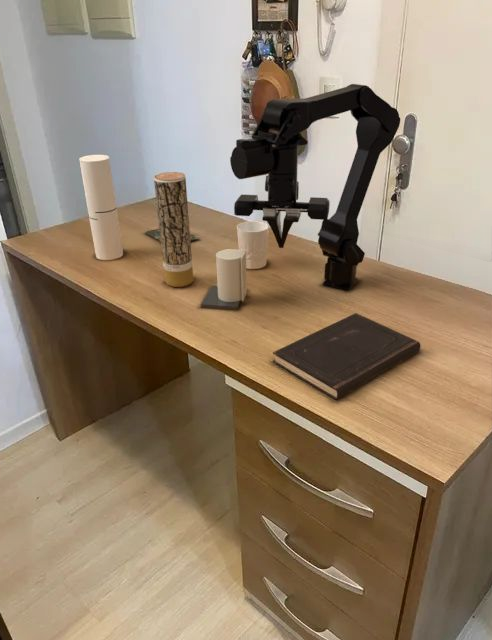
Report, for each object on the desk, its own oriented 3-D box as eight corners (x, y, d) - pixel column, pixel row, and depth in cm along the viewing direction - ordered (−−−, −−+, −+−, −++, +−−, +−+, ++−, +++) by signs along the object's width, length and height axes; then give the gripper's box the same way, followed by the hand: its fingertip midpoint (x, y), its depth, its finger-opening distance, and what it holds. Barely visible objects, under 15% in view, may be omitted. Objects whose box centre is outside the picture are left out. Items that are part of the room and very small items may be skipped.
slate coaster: (245, 290, 129) (245, 287, 129) (236, 310, 121) (236, 306, 120) (212, 288, 130) (211, 285, 130) (201, 307, 122) (200, 304, 122)
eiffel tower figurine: (143, 233, 162) (137, 187, 155) (173, 226, 168) (169, 181, 160) (168, 248, 152) (163, 199, 145) (200, 240, 157) (196, 192, 150)
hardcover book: (272, 362, 103) (272, 351, 102) (354, 322, 115) (355, 312, 114) (337, 401, 93) (338, 390, 91) (419, 352, 105) (421, 342, 104)
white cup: (256, 273, 137) (255, 234, 132) (231, 265, 142) (230, 227, 136) (274, 262, 143) (275, 224, 137) (250, 256, 147) (249, 219, 141)
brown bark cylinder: (188, 289, 130) (179, 180, 117) (161, 287, 131) (149, 179, 118) (197, 277, 136) (189, 172, 122) (170, 275, 137) (159, 171, 123)
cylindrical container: (119, 260, 146) (105, 161, 132) (92, 260, 146) (75, 161, 132) (125, 249, 152) (112, 154, 138) (99, 250, 152) (83, 154, 138)
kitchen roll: (246, 249, 121) (219, 248, 122) (241, 260, 117) (212, 258, 118) (247, 291, 127) (221, 289, 128) (242, 303, 122) (215, 301, 123)
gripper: (333, 162, 113) (328, 236, 122) (243, 159, 116) (245, 232, 125) (329, 176, 104) (325, 255, 112) (232, 173, 107) (234, 250, 115)
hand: (281, 247), depth 117 cm, fingers closed
